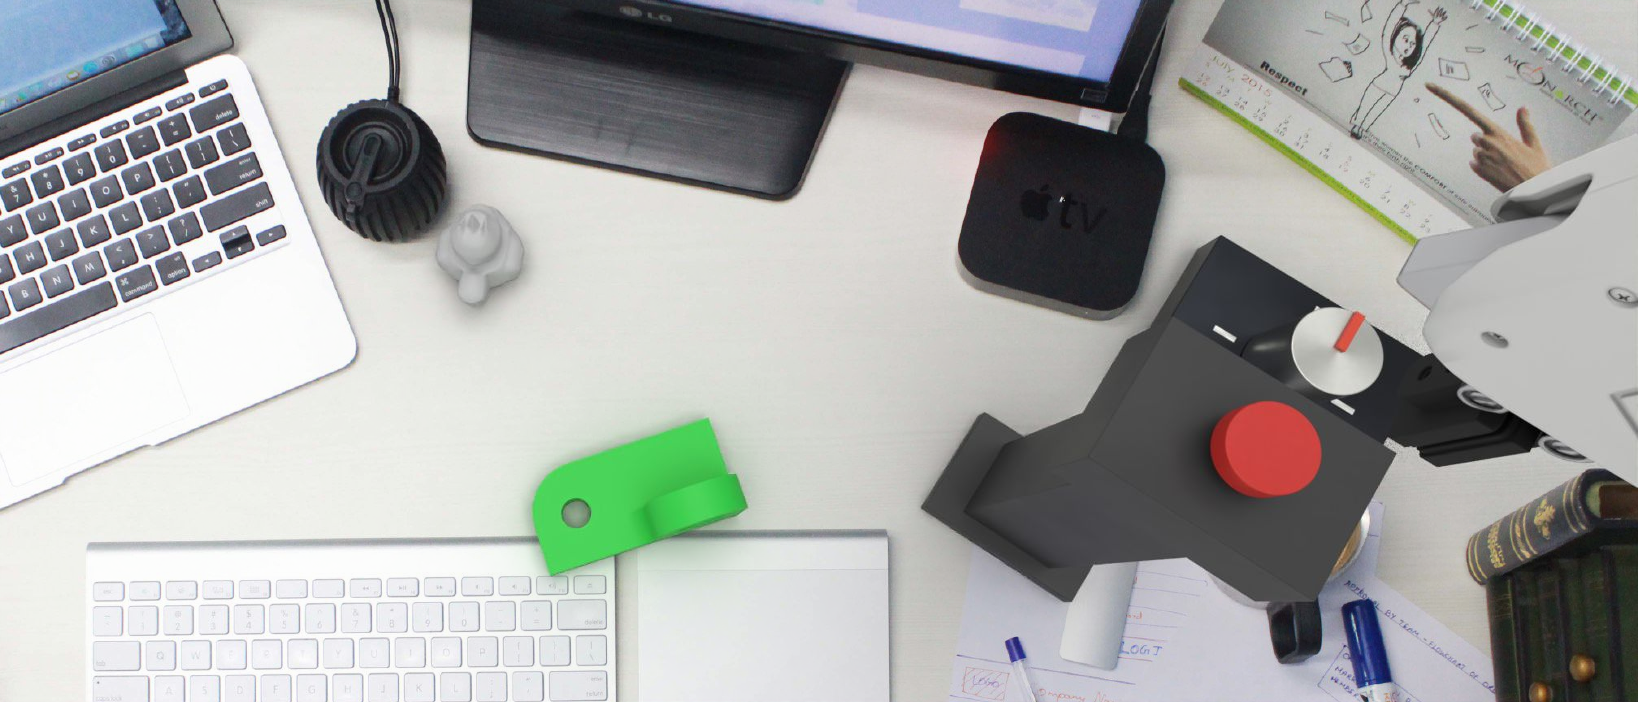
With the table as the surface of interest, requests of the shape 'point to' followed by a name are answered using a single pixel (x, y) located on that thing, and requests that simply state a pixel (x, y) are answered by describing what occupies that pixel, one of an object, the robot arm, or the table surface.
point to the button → (1266, 449)
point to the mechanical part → (636, 496)
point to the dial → (1320, 354)
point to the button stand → (1158, 479)
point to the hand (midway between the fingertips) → (1431, 410)
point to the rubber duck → (480, 252)
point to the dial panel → (1275, 322)
